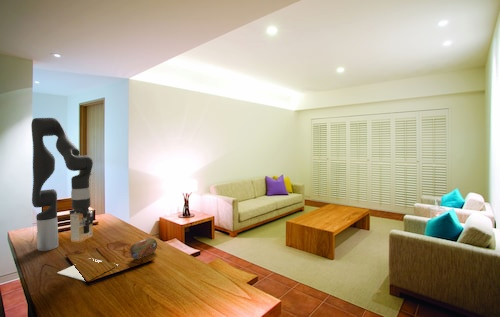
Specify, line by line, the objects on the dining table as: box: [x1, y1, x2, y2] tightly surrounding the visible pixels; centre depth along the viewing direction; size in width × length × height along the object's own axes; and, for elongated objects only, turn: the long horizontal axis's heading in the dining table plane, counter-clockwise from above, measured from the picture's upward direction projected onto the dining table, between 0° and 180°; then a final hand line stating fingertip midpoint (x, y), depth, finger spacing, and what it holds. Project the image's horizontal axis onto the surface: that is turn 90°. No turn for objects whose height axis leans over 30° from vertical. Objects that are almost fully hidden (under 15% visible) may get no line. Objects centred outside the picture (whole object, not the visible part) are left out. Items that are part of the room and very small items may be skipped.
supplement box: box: [69, 210, 94, 243], centre depth 123 cm, size 8×5×13 cm, turn 168°
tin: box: [129, 237, 158, 260], centre depth 136 cm, size 15×3×8 cm, turn 147°
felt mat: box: [56, 257, 119, 282], centre depth 122 cm, size 20×16×1 cm
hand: (82, 232), depth 124 cm, fingers closed on supplement box, 5 cm apart
